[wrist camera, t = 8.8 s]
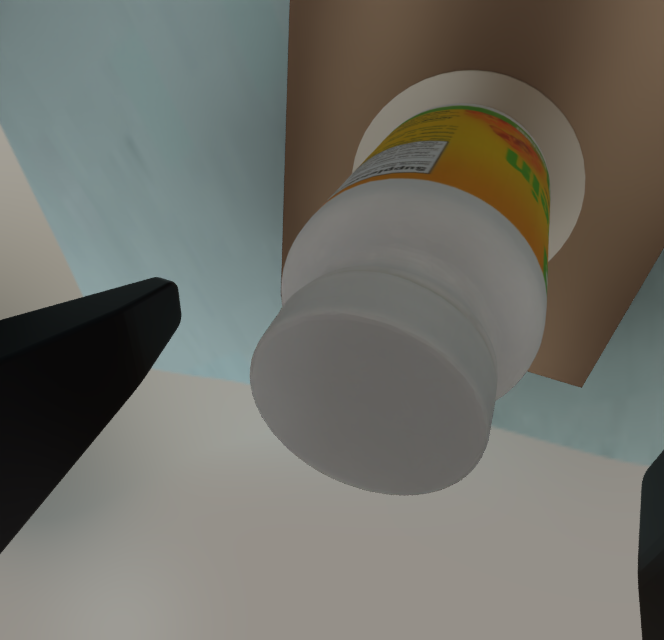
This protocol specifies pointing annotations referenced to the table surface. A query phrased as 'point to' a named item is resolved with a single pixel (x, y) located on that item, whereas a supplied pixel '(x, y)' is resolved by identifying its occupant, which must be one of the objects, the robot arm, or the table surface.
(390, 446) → the supplement bottle
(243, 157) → the table surface
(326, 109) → the walnut base
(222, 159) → the table surface
